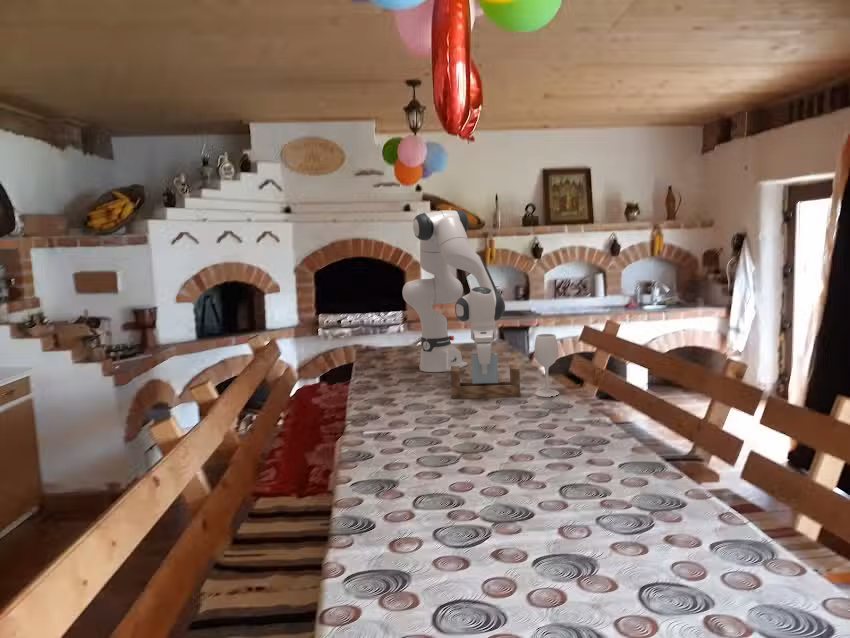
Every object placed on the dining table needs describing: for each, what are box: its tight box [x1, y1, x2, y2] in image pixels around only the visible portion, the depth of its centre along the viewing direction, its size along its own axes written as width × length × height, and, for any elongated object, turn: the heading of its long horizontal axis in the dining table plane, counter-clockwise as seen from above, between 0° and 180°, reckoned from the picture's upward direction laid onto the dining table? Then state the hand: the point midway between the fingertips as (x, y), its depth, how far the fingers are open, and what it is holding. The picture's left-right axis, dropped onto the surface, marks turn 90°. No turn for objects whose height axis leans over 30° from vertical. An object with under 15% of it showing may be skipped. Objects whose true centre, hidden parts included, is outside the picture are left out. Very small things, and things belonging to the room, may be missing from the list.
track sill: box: [449, 363, 521, 400], centre depth 233 cm, size 24×8×10 cm, turn 86°
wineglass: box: [534, 333, 560, 398], centre depth 229 cm, size 9×9×21 cm
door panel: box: [470, 352, 499, 384], centre depth 232 cm, size 9×4×10 cm, turn 86°
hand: (484, 372), depth 232 cm, fingers closed on door panel, 3 cm apart
